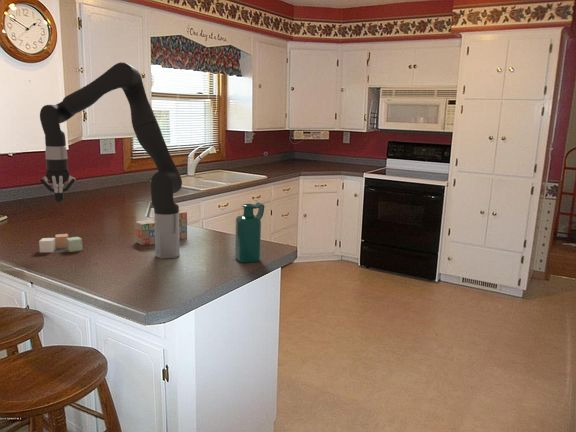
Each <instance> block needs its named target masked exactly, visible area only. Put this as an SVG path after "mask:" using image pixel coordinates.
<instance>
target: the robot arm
mask: <svg viewBox="0 0 576 432" xmlns="http://www.w3.org/2000/svg"><path fill="white" fill-rule="evenodd" d="M117 89H121V90H122V91H123V93H124V95H125V97H126V99H127V101H128V104H129V110H130V118H131V125H132V128H133V131H134V134H135V137H136V139H137V141H138V143H139V145H140V146H141V147H142V148H143V150H144V151H145V152H146V153H147V154H148V155H149V157H150V158H151V159H152V160H153V163H154V164H155V166H156V168H157V169H156V170H157V172H155V173H154V174H153V175H152V176H151V179H150V196H151V197H150V198H151V204H152V208H153V213H154V214H153V217H154V219H153V220H154V224H155V244H154V250H155V252H154V254H155V255H154V256H155V257H156V258H158V259H161V260H162V259H176V258H178V257H179V256H180V240H179V210H180V209H179V207H180V206H179V205H178V204H177V203H176V202H174V201H175V199H174V194H175V193H178V192H179V191H180V190H181V189H182V186H183V180H182V176H181V174H180V172H179V170H178V168H177V165H176V164H175V162H174V160H173V158H172V156H171V153H170V152H169V149H168V146H167V144H166V141H165V139H164V136H163V133H162V130H161V127H160V125H159V123H158V120H157V118H156V116H155V112H154V110H153V108H152V106H151V104H150V102H149V100H148V96H147V93H146V90H145V86H144V82H143V78H142V75H141V73H140V72H139V70H138V69H137V68H136V67H135V66H133V65H131V64H129V63H127V62H122V61H121V62H117V63H116V64H114V65H113V66H111V67H110V68H109V69H107V70H106V71H105V72H103V73H102V74H101V75H100V76H98V77H97V78H95V79H94V80H92V81H91V82H90V83H88V84H87V85H85V86H83V87H81V88H80V89H77V90H75V91H73V92H72V93H70V94H68V95H66V96H65V97H64V98H63V99H62V101H60V102H59V103H57V104H46V105H43V106H42V107H41V109H40V111H39V121H40V124H41V126H42V127H41V128H42V130H43V133H44V139H45V140H44V143H45V165H46V173H45V176H43V177H42V178H40V180H39V181H40V183H41V184H42V185H43V186H45V188H46V189H48V191H49V192H52V193H54V199H55V202H57V203H62V201H64V193H65V192H67V191H69V189H70V188H71V186H72V185H73V184H74V183H75V181H76V180H77V179H76V177H73V176H71V173H70V172H69V164H68V150H67V143H66V142H67V141H66V134H65V132H64V131H62V130H61V125H60V124H63V123H65V122H66V121H68V120H69V119H71V118H72V117H74V116H75V115H76V114H78V113H80V112H83V111H85V110H86V109H89V108H90V107H91V106H93V105H94V104H95V103H96V102H97V101H99V99H101V98H102V97H103V96H104V95H106V94H108V93H110V92H112V91H114V90H117ZM67 180H68V182H69V183H68V184H66V182H67ZM48 181H49V182H50V183H51V184H52V185H53V186H52V185H51V184H50V183H49V182H48ZM65 184H66V186H65V187H64V185H65Z"/></svg>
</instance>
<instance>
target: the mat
mask: <svg viewBox="0 0 576 432" xmlns="http://www.w3.org/2000/svg"><path fill="white" fill-rule="evenodd" d="M83 246H84V243H82V247H83ZM73 252H76V251H73ZM79 252H82V250H80V251H79ZM52 253H55V254H56V253H71V252H70V251H69V250H67V247H65V248H56V249H55V250H54V251H53V252H40V250H39V251H38V254H52Z"/></svg>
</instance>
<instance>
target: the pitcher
mask: <svg viewBox="0 0 576 432" xmlns="http://www.w3.org/2000/svg"><path fill="white" fill-rule="evenodd" d="M241 208H243V214H241V215H238V216H236V218H235V238H234V239H235V244H234V245H235V248H234V249H235V253H234V255H235V256H234V257H235V259H236V260H237V261H238V262H239V263H241V264H247V263H256V262H257V263H258V262H260V260H261V241H262V239H261V237H262V218H263V217H264V212H265V204H263V203H262V202H256V203H255V204H254V203H243V204H241ZM255 209H258V210H257V214H256V215H255V214H254V210H255Z"/></svg>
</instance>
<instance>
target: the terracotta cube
mask: <svg viewBox="0 0 576 432" xmlns="http://www.w3.org/2000/svg"><path fill="white" fill-rule="evenodd" d="M54 236H55V237H54V238H55V242H56V248H65V247H67V241H66V238H70V237H69V234H68V233H58V234H55V235H54Z"/></svg>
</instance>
